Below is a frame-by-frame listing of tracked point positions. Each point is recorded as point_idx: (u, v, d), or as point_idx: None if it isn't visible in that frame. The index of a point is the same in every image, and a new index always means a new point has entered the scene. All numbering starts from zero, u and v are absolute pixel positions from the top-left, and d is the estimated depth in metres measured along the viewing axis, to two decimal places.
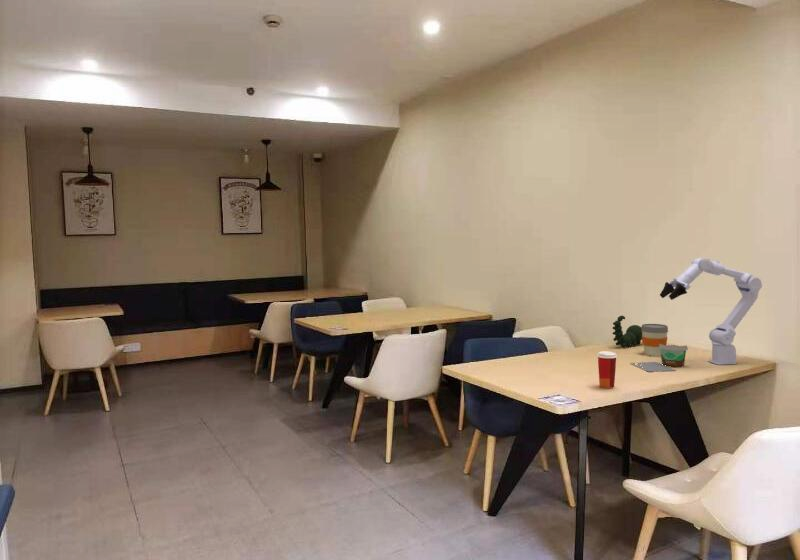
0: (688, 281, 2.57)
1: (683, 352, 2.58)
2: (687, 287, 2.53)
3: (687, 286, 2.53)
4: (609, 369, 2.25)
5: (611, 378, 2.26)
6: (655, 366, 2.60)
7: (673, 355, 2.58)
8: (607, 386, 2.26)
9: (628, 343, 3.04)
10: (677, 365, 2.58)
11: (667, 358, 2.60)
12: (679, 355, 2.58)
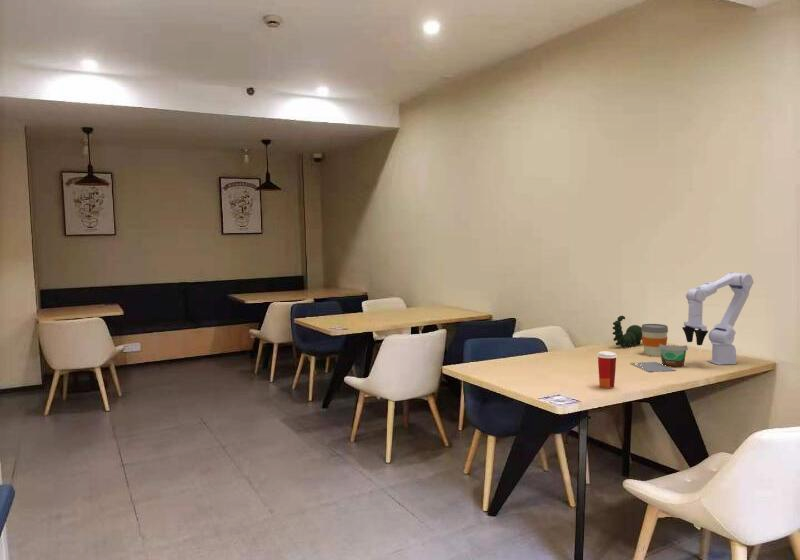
0: (699, 319, 2.56)
1: (683, 352, 2.58)
2: (705, 329, 2.52)
3: (704, 328, 2.52)
4: (608, 369, 2.25)
5: (611, 378, 2.26)
6: (655, 366, 2.60)
7: (673, 355, 2.58)
8: (607, 386, 2.26)
9: (628, 343, 3.04)
10: (677, 365, 2.58)
11: (667, 358, 2.60)
12: (679, 355, 2.58)
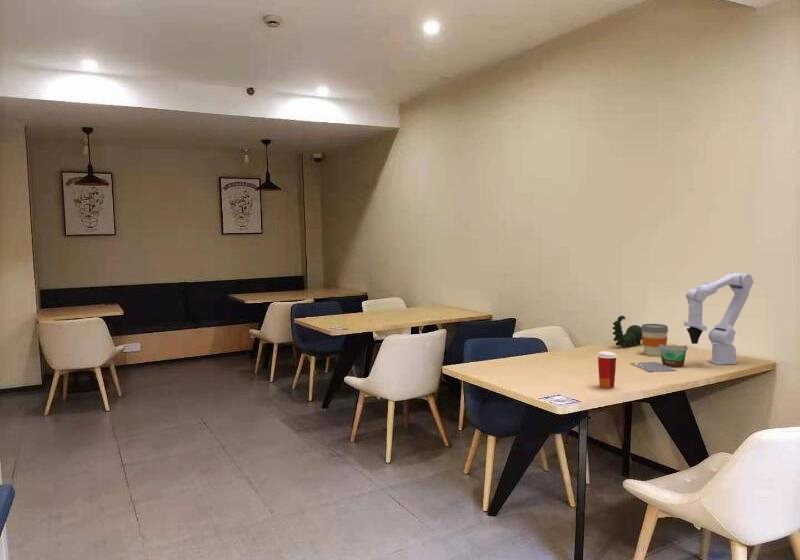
0: (699, 319, 2.56)
1: (683, 352, 2.58)
2: (705, 329, 2.52)
3: (704, 328, 2.52)
4: (608, 369, 2.25)
5: (611, 378, 2.26)
6: (655, 366, 2.60)
7: (673, 355, 2.58)
8: (607, 386, 2.26)
9: (628, 343, 3.04)
10: (677, 365, 2.58)
11: (667, 358, 2.60)
12: (679, 355, 2.58)
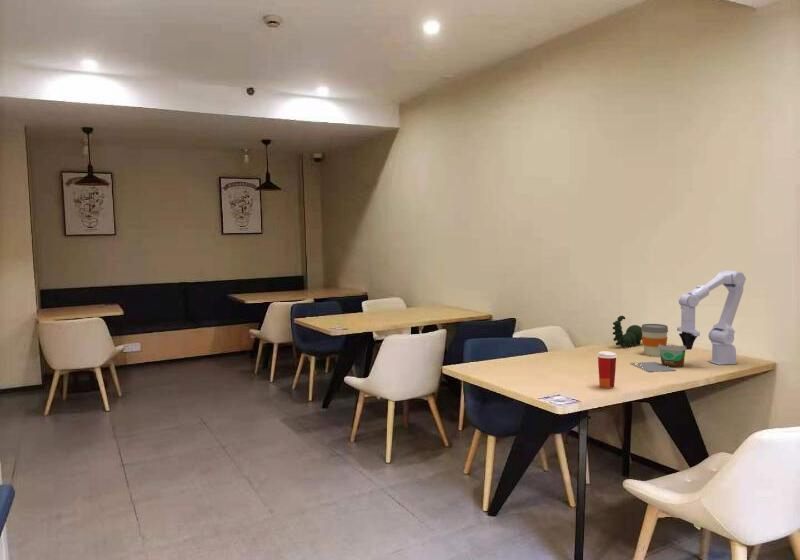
0: (692, 324, 2.56)
1: (682, 352, 2.57)
2: (697, 334, 2.52)
3: (697, 334, 2.52)
4: (609, 369, 2.25)
5: (611, 378, 2.26)
6: (655, 366, 2.60)
7: (672, 355, 2.58)
8: (607, 386, 2.26)
9: (628, 343, 3.04)
10: (676, 365, 2.58)
11: (666, 358, 2.60)
12: (677, 355, 2.57)
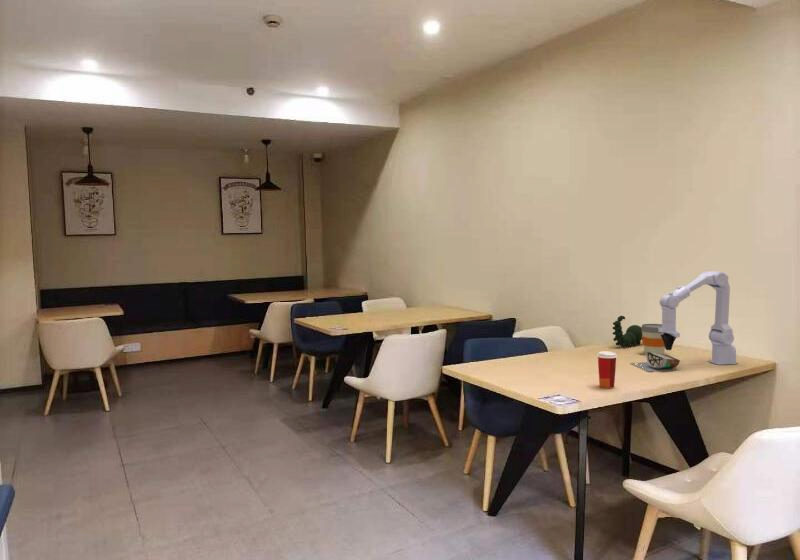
0: (673, 325, 2.56)
1: (665, 364, 2.52)
2: (677, 335, 2.51)
3: (677, 335, 2.51)
4: (609, 369, 2.25)
5: (611, 378, 2.26)
6: None
7: None
8: (607, 386, 2.26)
9: (628, 343, 3.04)
10: (672, 367, 2.56)
11: None
12: (664, 366, 2.54)
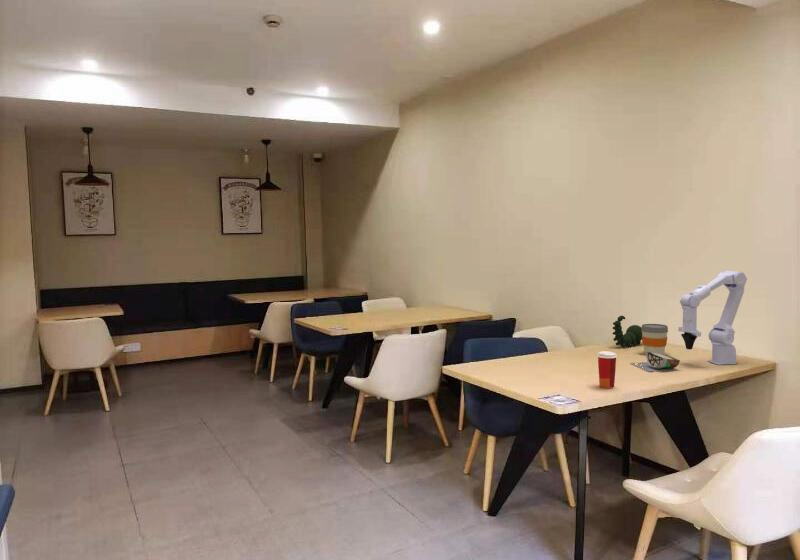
0: (694, 324, 2.56)
1: (665, 364, 2.52)
2: (699, 335, 2.52)
3: (698, 334, 2.52)
4: (609, 369, 2.25)
5: (611, 378, 2.26)
6: None
7: None
8: (607, 386, 2.26)
9: (628, 343, 3.04)
10: (672, 367, 2.56)
11: None
12: (664, 366, 2.54)
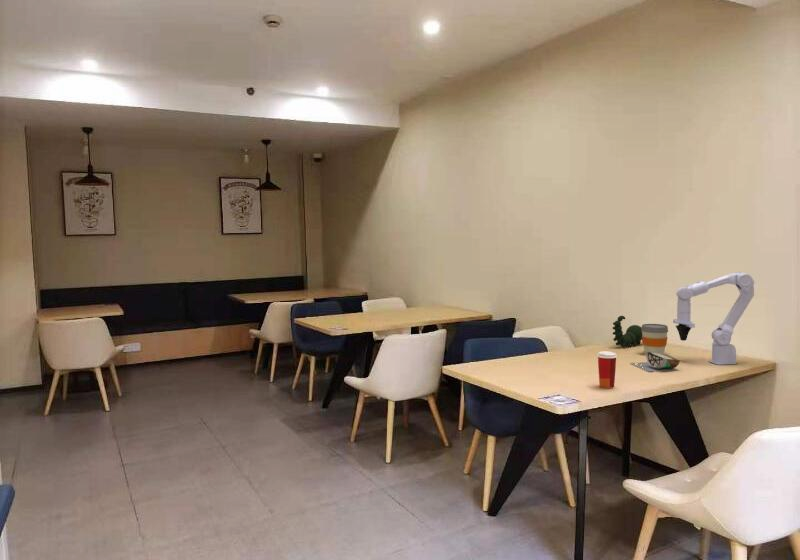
0: (688, 316, 2.65)
1: (665, 364, 2.52)
2: (692, 326, 2.61)
3: (692, 325, 2.61)
4: (609, 369, 2.25)
5: (611, 378, 2.26)
6: None
7: None
8: (607, 386, 2.26)
9: (628, 343, 3.04)
10: (672, 367, 2.56)
11: None
12: (664, 366, 2.54)
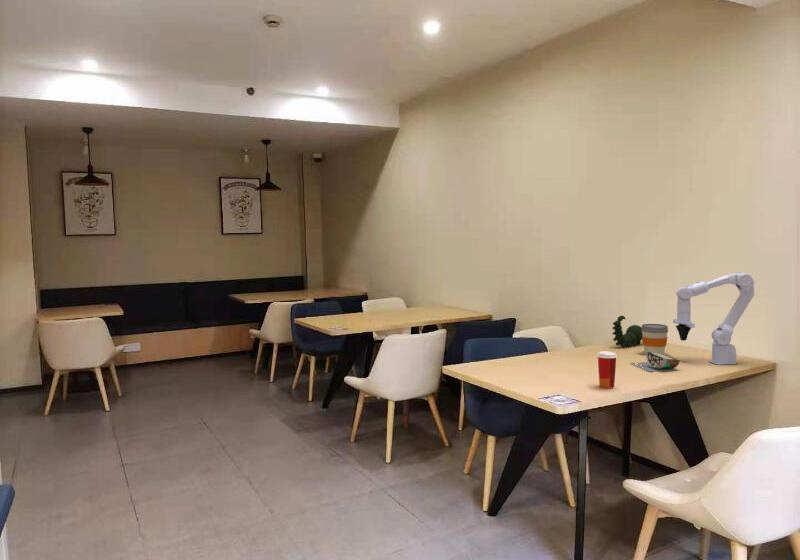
0: (688, 316, 2.65)
1: (665, 364, 2.52)
2: (692, 326, 2.61)
3: (692, 325, 2.61)
4: (608, 369, 2.25)
5: (611, 378, 2.26)
6: None
7: None
8: (607, 386, 2.26)
9: (628, 343, 3.04)
10: (672, 367, 2.56)
11: None
12: (664, 366, 2.54)
